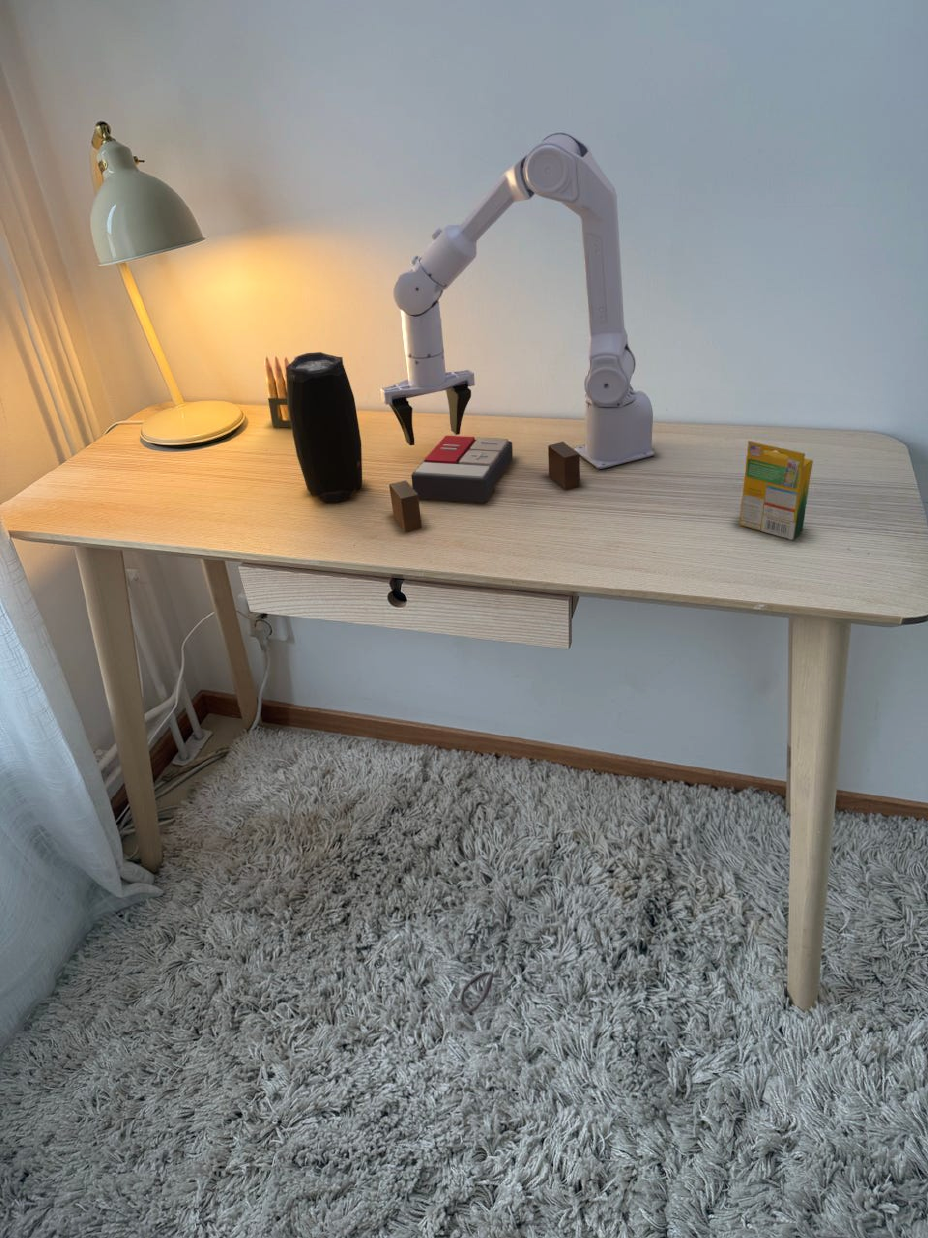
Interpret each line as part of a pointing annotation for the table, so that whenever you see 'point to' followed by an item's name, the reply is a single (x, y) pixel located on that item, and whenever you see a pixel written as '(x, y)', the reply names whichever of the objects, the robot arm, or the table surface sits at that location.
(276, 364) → the ammunition clip
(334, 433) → the portable speaker
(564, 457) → the corner blocks
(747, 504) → the crayon box
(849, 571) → the table surface
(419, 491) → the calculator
